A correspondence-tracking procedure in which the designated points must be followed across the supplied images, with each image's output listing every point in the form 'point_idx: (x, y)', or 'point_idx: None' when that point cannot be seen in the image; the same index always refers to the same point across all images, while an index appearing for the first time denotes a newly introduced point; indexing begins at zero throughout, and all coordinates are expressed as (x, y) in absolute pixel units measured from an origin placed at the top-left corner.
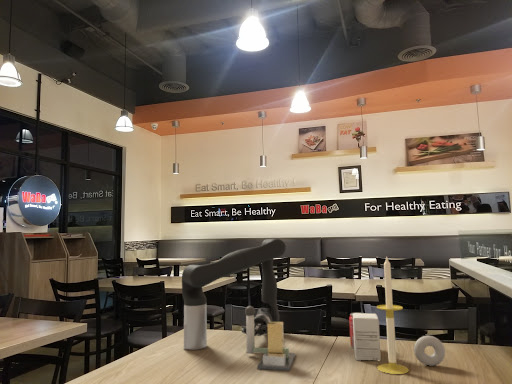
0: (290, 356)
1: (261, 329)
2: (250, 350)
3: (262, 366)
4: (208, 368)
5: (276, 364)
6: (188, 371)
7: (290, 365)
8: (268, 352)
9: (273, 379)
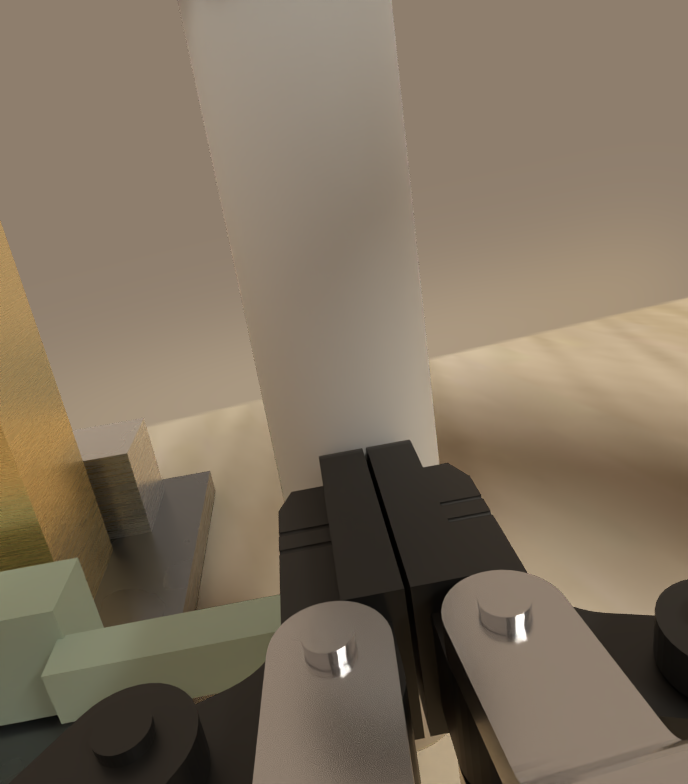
0: None
1: (97, 731)
2: None
3: (166, 479)
4: (582, 405)
5: None
6: (655, 357)
7: None
8: (81, 468)
9: None
